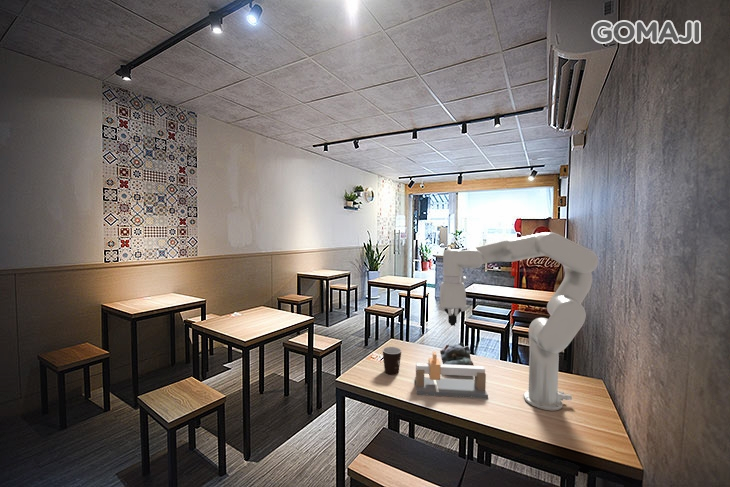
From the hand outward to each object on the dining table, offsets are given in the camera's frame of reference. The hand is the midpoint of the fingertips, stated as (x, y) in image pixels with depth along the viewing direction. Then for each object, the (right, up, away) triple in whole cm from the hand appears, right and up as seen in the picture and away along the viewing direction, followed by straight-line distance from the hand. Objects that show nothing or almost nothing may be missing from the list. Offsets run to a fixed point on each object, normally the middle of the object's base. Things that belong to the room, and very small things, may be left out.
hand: (452, 324), depth 125 cm
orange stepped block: (-7, -22, +1) cm, 23 cm away
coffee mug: (-22, -26, +17) cm, 38 cm away
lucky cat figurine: (+6, -26, +17) cm, 32 cm away
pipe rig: (-1, -27, +1) cm, 27 cm away
